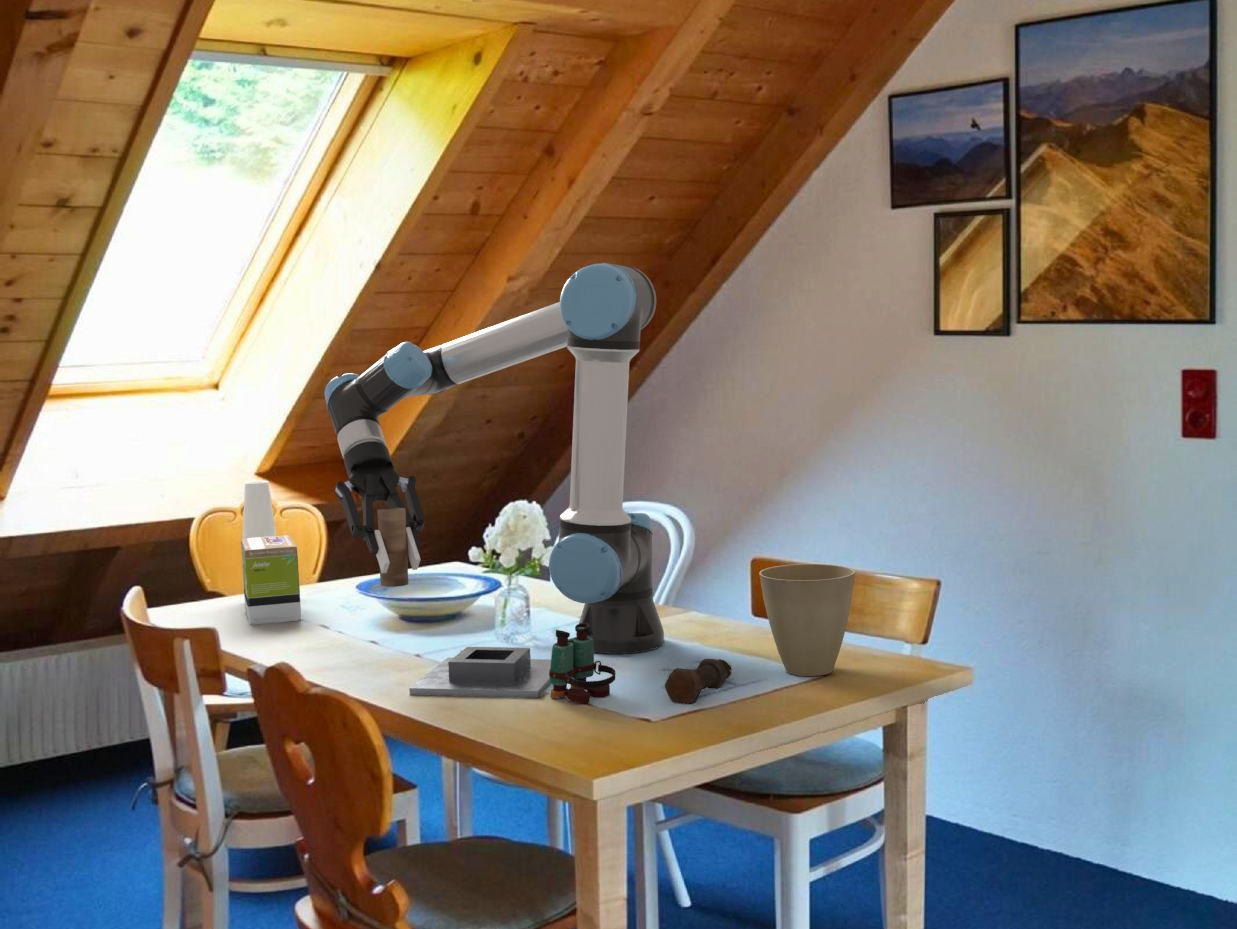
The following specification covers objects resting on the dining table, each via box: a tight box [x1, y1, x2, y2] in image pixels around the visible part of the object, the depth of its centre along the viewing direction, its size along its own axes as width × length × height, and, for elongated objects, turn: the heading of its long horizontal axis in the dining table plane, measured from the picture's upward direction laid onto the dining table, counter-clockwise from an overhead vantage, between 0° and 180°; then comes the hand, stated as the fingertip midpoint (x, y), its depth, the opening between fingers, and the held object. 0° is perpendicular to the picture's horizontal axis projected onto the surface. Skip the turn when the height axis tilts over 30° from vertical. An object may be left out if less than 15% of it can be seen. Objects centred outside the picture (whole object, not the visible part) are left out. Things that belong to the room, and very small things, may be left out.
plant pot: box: [758, 563, 856, 677], centre depth 232 cm, size 15×15×16 cm
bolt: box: [664, 658, 732, 705], centre depth 222 cm, size 6×5×15 cm
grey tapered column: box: [242, 480, 277, 539], centre depth 304 cm, size 7×7×24 cm
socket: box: [408, 646, 552, 699], centre depth 232 cm, size 20×20×4 cm
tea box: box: [240, 534, 302, 626], centre depth 285 cm, size 15×10×15 cm
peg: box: [376, 507, 409, 588], centre depth 235 cm, size 4×4×12 cm
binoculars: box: [549, 622, 616, 705], centre depth 220 cm, size 9×11×10 cm
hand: (401, 566), depth 232 cm, fingers closed on peg, 4 cm apart
